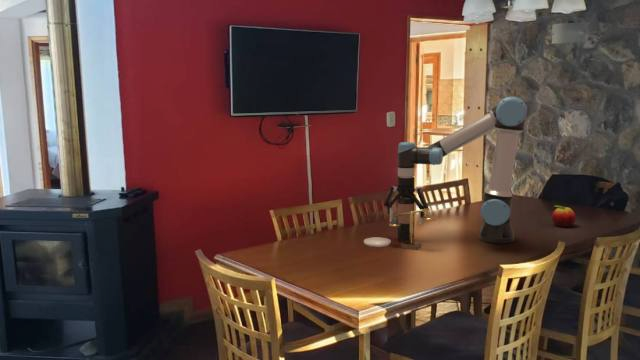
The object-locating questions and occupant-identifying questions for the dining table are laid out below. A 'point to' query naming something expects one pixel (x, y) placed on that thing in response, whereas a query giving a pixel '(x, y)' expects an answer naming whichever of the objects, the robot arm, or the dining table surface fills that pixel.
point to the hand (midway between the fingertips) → (405, 222)
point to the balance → (411, 243)
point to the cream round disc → (377, 242)
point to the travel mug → (405, 218)
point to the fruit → (563, 216)
